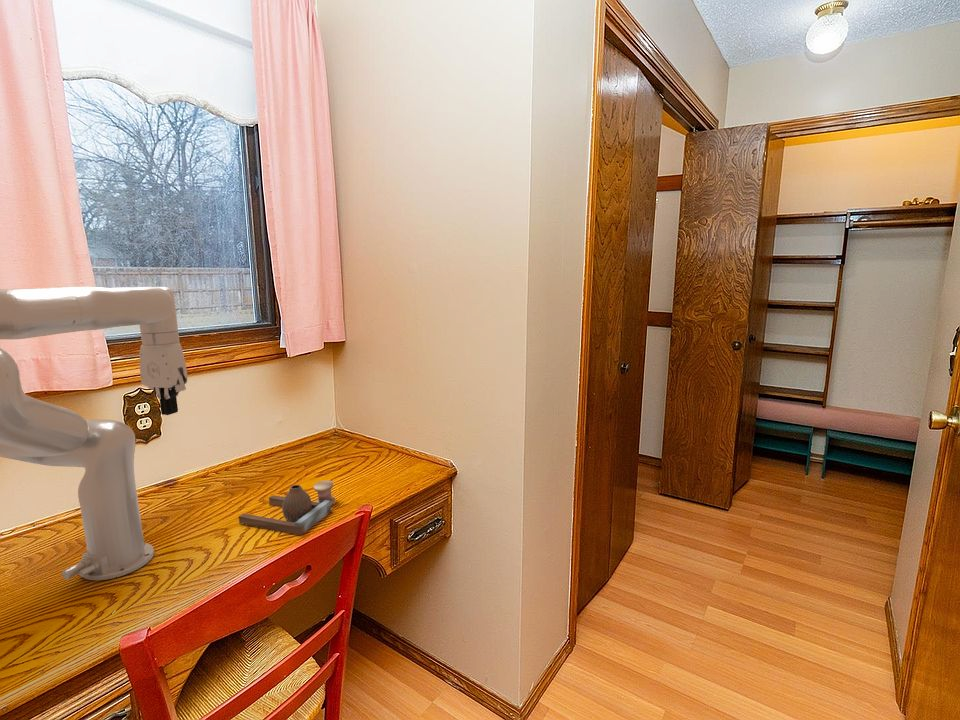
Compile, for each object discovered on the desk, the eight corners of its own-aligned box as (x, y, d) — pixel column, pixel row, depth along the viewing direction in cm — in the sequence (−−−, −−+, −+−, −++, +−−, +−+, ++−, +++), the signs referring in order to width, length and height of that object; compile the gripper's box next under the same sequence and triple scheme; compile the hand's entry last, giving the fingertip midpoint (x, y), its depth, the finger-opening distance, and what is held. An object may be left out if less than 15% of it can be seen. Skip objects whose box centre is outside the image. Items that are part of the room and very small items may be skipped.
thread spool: (331, 507, 128) (329, 488, 127) (313, 508, 129) (310, 489, 128) (337, 498, 133) (335, 480, 132) (319, 498, 134) (317, 480, 132)
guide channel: (300, 535, 115) (300, 523, 115) (239, 523, 121) (238, 512, 120) (331, 511, 127) (330, 500, 126) (273, 502, 132) (272, 491, 131)
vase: (277, 523, 121) (274, 490, 119) (297, 510, 127) (294, 479, 126) (299, 528, 118) (296, 494, 117) (318, 515, 125) (316, 483, 123)
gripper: (122, 340, 115) (132, 415, 119) (170, 342, 111) (179, 420, 114) (151, 336, 122) (160, 407, 126) (198, 338, 118) (206, 411, 121)
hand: (169, 413), depth 120 cm, fingers closed
